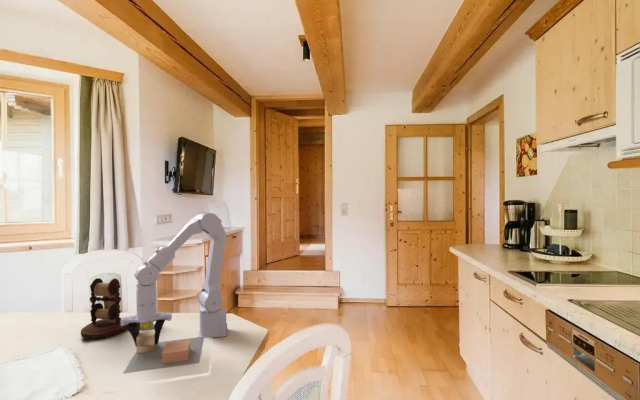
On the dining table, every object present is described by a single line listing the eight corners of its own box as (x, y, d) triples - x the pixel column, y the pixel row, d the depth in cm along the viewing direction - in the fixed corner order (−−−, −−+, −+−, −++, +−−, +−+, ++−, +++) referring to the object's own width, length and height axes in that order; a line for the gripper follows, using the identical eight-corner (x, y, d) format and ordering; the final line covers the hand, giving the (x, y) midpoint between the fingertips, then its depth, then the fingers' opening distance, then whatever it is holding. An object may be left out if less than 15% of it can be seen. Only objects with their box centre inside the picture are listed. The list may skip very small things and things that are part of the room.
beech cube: (157, 344, 106) (157, 329, 106) (154, 351, 101) (153, 335, 101) (140, 346, 105) (140, 331, 105) (136, 353, 100) (136, 337, 100)
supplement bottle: (152, 324, 124) (152, 300, 124) (154, 329, 119) (153, 304, 119) (136, 327, 121) (136, 302, 121) (137, 332, 116) (137, 306, 116)
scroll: (138, 325, 123) (137, 274, 123) (109, 343, 108) (108, 284, 108) (103, 324, 125) (102, 273, 124) (69, 341, 110) (68, 283, 110)
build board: (203, 338, 112) (203, 328, 111) (199, 364, 94) (199, 352, 94) (140, 345, 106) (140, 335, 106) (122, 375, 89) (122, 362, 89)
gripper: (117, 309, 97) (117, 353, 97) (168, 304, 101) (169, 346, 101) (124, 301, 104) (125, 342, 104) (172, 297, 108) (173, 337, 108)
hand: (147, 344), depth 103 cm, fingers closed on beech cube, 5 cm apart
